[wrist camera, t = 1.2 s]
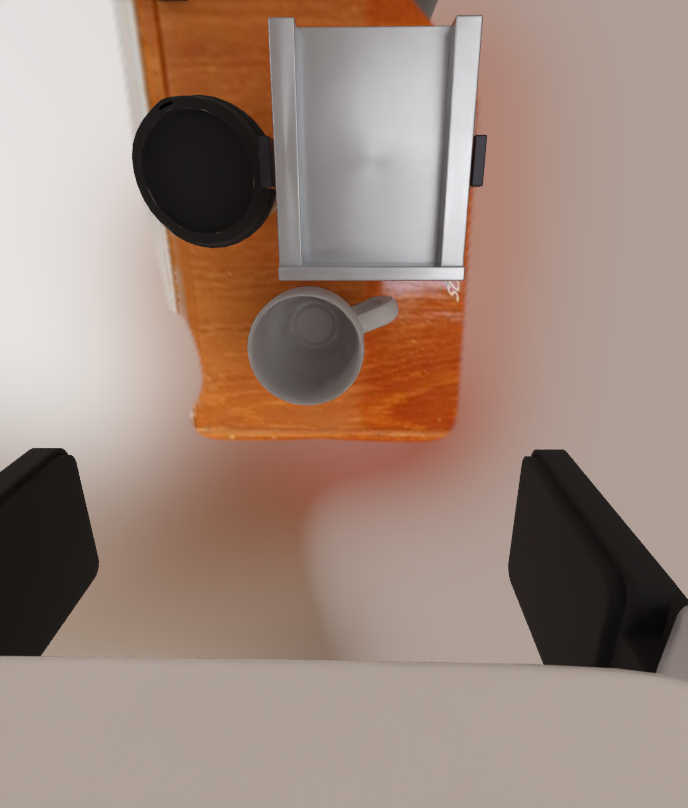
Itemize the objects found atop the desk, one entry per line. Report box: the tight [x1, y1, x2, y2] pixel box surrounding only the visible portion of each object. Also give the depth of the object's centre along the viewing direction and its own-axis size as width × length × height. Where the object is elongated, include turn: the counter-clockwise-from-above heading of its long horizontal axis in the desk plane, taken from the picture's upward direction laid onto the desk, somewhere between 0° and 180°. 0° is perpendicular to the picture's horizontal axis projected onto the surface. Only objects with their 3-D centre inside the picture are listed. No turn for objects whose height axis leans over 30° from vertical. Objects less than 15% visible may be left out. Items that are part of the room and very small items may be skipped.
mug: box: [248, 286, 399, 405], centre depth 42 cm, size 12×9×10 cm
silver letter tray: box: [268, 15, 483, 281], centre depth 21 cm, size 10×8×2 cm
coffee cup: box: [132, 95, 277, 248], centre depth 36 cm, size 8×8×15 cm
